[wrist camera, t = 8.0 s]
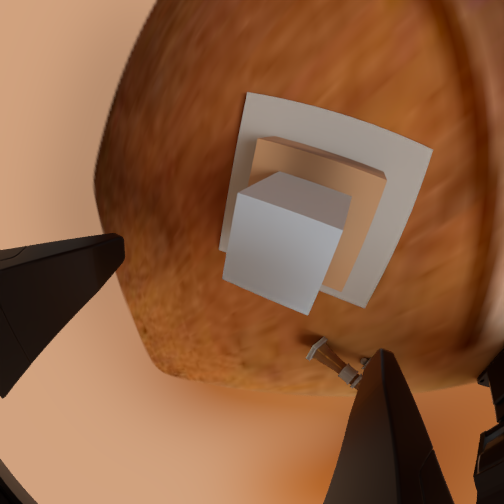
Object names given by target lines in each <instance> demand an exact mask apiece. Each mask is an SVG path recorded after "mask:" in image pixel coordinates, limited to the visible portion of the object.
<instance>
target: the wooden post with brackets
mask: <svg viewBox="0 0 504 504" xmlns="http://www.w3.org/2000/svg"><path fill="white" fill-rule="evenodd" d="M327 340H328V339H327V338H326V337H323V338H322V339H320V340H319V341H318V342H317V343H315V344H314V345H313V346H312V348H311V350H310V352H309V353H308V355H307V357H306V359H308V360H309V361H310V360H311V359H312V358H314V359H316V360H318V361H320V362H322V363H323V364H325V365H326V366H328V367H330V368H331V369H333V370H334V371H335V372H337V373H338V374H339V375H338V376H339V377H340V378H342V379H343V380H344V381H345V382H346V383H347V385H348V384H351V386H350V387H351V388H352V389H353V388H355V389H357V390H358V388H359V385H360V382H361V379H362V374H361V375H359V374H357V373H358V371H356V370H355V369H354V368H352V367H351V366H350V365H349V363H348V364H345V363H344V362H343V361H342V360H341V359H340V358H339V357H338V356H337V355H336V354H335V353H334V352H333V351H332V350H331V349H330V348H329V347H328V345H327V344H326V341H327ZM370 360H371V358H370V359H369V360H367V359H366V358H362V359H361V364H363V365H364V366H363V368H362V369H365V367H366V366H367V364H368V363H369V361H370Z"/></svg>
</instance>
